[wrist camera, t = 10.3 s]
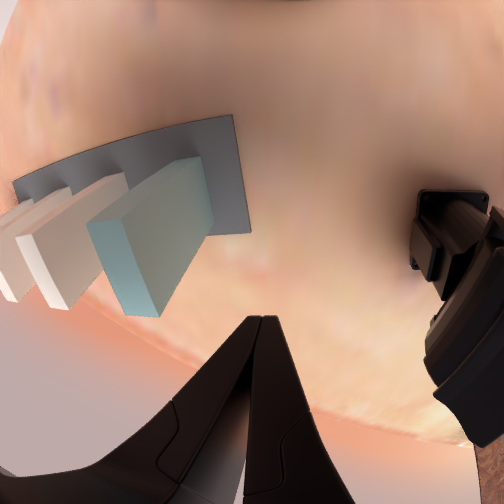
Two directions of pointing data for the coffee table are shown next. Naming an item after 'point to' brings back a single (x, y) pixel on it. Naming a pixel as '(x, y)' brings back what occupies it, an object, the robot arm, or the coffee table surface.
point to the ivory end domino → (15, 211)
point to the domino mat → (157, 167)
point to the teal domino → (153, 235)
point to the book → (491, 472)
